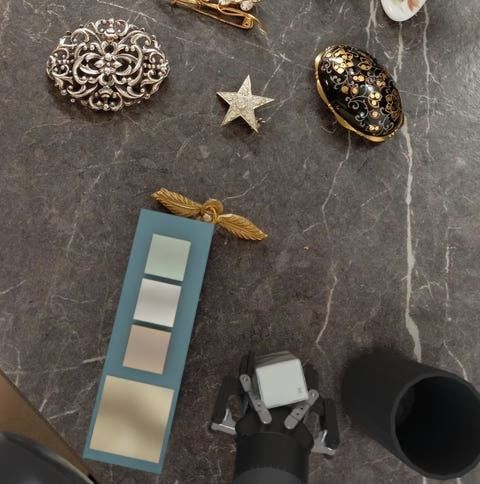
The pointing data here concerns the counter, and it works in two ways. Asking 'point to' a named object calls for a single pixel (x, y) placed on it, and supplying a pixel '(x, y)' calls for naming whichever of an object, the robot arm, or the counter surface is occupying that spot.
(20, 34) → the counter surface
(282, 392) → the box
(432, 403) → the vase
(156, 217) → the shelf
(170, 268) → the block line
